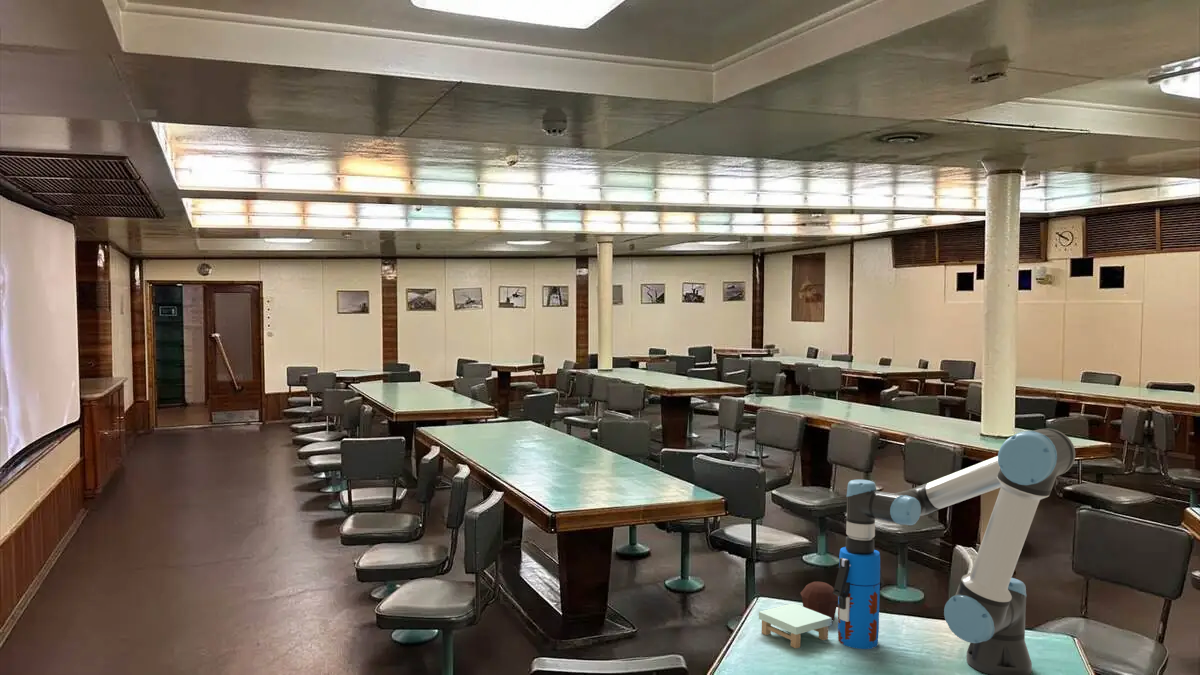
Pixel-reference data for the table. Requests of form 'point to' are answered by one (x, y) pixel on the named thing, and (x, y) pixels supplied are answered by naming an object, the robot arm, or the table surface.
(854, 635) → the thermos
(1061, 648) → the table surface
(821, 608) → the muffin
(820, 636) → the footstool
